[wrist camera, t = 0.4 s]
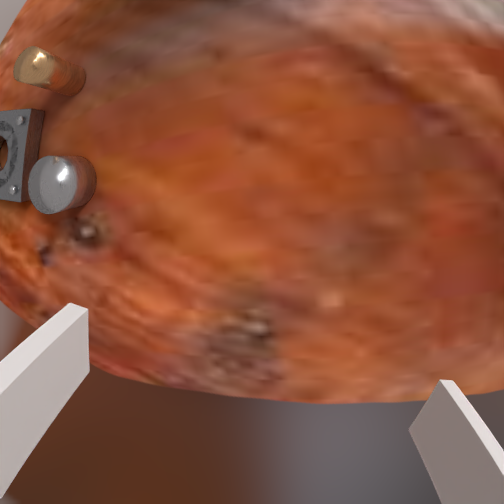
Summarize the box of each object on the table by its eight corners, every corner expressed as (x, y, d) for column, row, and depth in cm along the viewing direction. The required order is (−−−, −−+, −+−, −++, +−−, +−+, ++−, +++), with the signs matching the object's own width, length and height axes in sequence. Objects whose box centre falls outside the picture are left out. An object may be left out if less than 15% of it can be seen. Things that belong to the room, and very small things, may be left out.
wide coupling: (59, 154, 34) (30, 154, 28) (99, 157, 34) (73, 157, 28) (54, 203, 35) (26, 210, 29) (93, 209, 35) (67, 217, 30)
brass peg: (65, 67, 31) (19, 49, 21) (89, 65, 31) (44, 43, 21) (58, 96, 32) (9, 83, 22) (82, 95, 32) (34, 79, 22)
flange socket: (-8, 115, 32) (-24, 113, 28) (44, 111, 32) (28, 108, 29) (-16, 192, 35) (-32, 195, 31) (34, 199, 35) (17, 202, 32)
